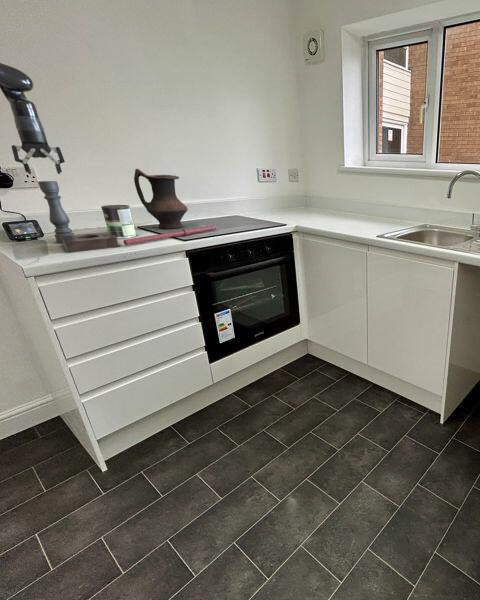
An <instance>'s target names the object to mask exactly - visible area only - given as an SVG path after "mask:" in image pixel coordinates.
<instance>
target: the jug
mask: <svg viewBox="0 0 480 600" xmlns="http://www.w3.org/2000/svg"><path fill="white" fill-rule="evenodd" d="M140 177H142V178H145V179H146V180H147V181H148V182H149V184H150V186H151V192H152V198H151V200H150V201H149V202H148V201H146V200H145V196H144V193H143V190H142V188H141V185H140ZM179 179H180V177H179V176H177V175H172V174H146V173H145V172H144V171H142V170H141V169H140V168H135V169H134V176H133V182H134V187H135V189H136V193H137V195H138V197H139V200H140V202H141V204H142V205H143V207H144V208H145V209H146V211H147V213H149V214H150V215H151V216H152V217H153V218H154V219H156V220H157V222H158V223H159V224H158V228H159V229H163V230H176V229H180V228H183V223H182V222H181V221H182V219H183V217H184V216H185V214H186V213H187V212H188V207H187V205H185V204H184V203H183V201H181V200H180V199H179V198H178V197H177V193H176V183H175V182H176V181H175V180H179Z"/></svg>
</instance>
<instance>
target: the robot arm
mask: <svg viewBox="0 0 480 600" xmlns="http://www.w3.org/2000/svg"><path fill="white" fill-rule="evenodd" d="M34 86H35V85H34V81H33V79H32V78H31V77H30V76H29V75H27V73H25V72H23V71H22V70H20V69H18V68H15V67H13V66H11V65H8V64H6V63H2V62H0V90H1V92H2V94H3V96H4V97H5V99H6V100H7V102H8V104H9V106H10V110H11V112H12V113H11V114H12V116H13V121H14V125H15V128H16V130H17V134H18V137H19V140H20V143H21V145H15V144H12V145H11V146H10V147H11V151H12V154H13V159H14V161H15V162H17V163H20V164H22V166H23V168H24V171H25V173H28V174H29V175H32V172H31V171H32V170H31V168H30V164H29V163H28V162H29V161H30V159H31V158H34V159H37V158H41V159H45V158H48V159H49V160H50V161H52V162H53V163H54V166H55V170H56V173H57V175H61V173H62V171H63V170H62V167H61V164H63V163H65V162H66V161H65V158H64V156H63V152H62V151H61V150H62V149H61V148H60V147H59V146H55V147H53V146H52V147H51V146H50V145H49V141H48V140H47V136H46V132H45V128H44V126H43V124H42V121H41V119H40V116H39V113H38V109H37V107H36V104H35V103H34V102H33V101H31V100H29V99H28V98H27V96H26V94H25V93H28V92H31V91H32V90H33V89H34ZM21 150H22V151H24V152H25V153H26V155H25V156H24V158H22V159H21V158H20V156H19V153H18V152H20V151H21ZM52 151H53V152H54V153H56V154H57V157H58V160H57V159H56V158H55V157H53V156H52V155H51V152H52Z"/></svg>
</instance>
